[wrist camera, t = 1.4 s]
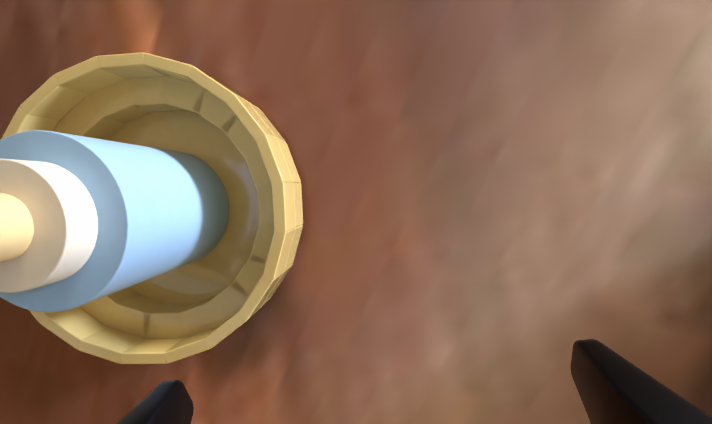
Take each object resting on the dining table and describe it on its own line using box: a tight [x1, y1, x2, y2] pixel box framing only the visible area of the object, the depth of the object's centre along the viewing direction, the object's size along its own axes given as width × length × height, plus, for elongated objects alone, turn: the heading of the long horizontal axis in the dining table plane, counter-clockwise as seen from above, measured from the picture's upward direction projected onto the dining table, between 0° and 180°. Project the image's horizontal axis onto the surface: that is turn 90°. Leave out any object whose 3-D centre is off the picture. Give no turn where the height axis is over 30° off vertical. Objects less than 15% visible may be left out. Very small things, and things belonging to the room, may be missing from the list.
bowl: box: [1, 53, 303, 364], centre depth 22 cm, size 15×15×4 cm
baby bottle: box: [0, 130, 229, 312], centre depth 17 cm, size 7×7×12 cm
